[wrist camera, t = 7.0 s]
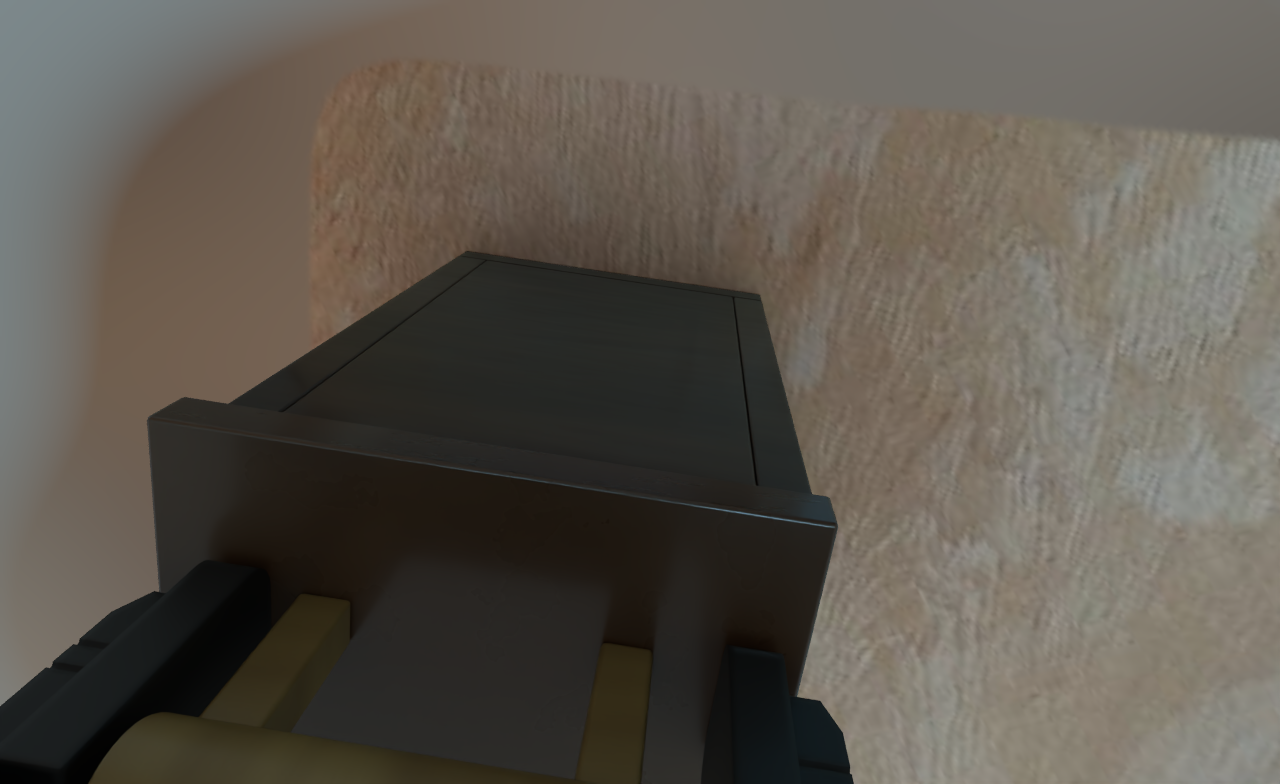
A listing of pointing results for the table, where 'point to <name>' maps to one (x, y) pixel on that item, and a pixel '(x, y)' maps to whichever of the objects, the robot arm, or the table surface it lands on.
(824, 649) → the table surface
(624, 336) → the chest
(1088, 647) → the table surface
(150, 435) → the lid
